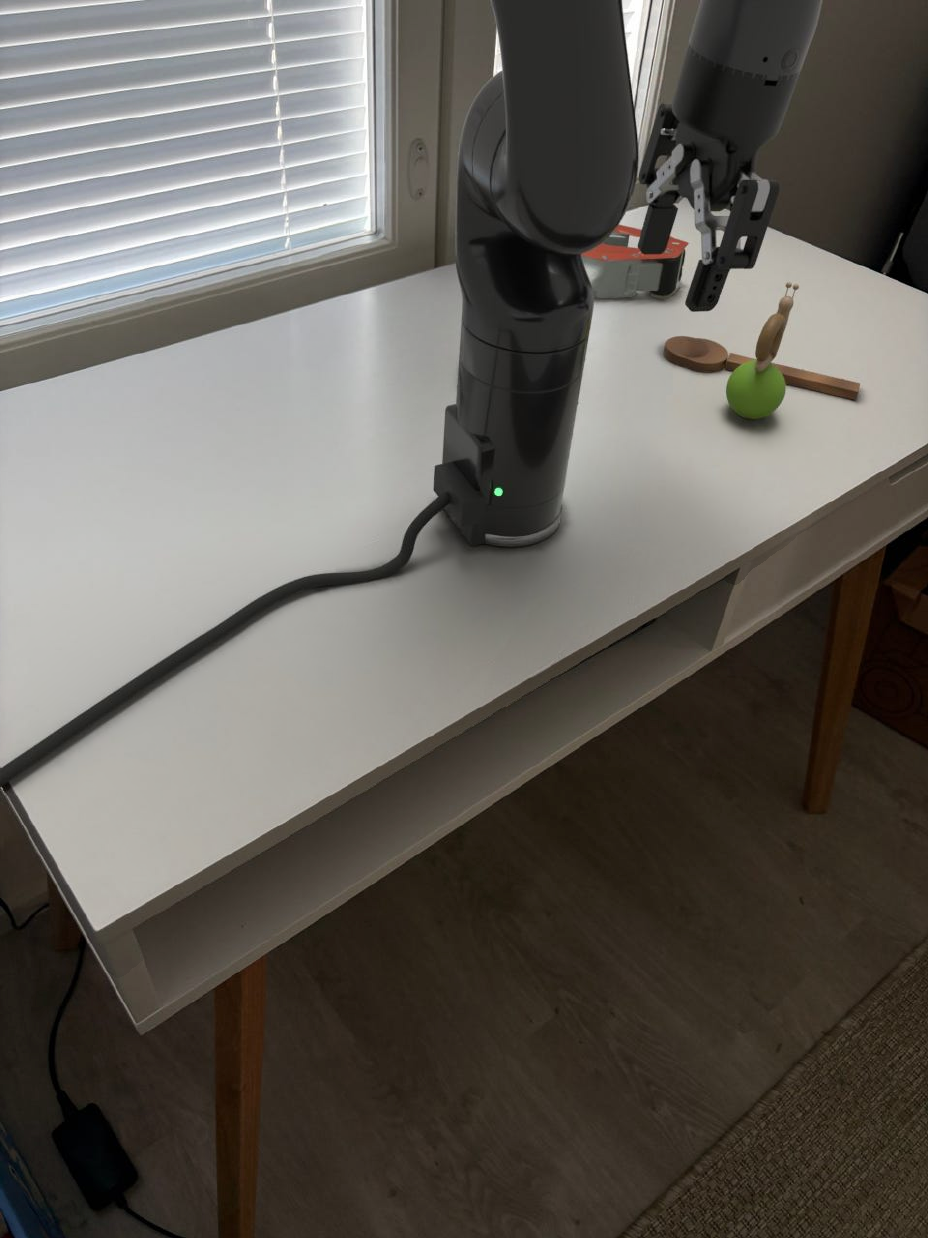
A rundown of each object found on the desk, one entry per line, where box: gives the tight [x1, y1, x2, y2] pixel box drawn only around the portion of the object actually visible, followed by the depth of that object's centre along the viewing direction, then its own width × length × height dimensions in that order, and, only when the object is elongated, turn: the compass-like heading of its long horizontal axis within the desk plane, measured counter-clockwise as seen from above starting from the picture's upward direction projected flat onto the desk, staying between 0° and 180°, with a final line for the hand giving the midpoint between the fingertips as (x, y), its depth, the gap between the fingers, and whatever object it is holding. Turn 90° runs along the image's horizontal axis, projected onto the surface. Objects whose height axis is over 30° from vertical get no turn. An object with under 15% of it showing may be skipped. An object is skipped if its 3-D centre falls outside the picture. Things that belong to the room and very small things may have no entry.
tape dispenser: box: [581, 223, 689, 299], centre depth 113 cm, size 18×5×20 cm
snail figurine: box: [725, 281, 800, 420], centre depth 94 cm, size 5×6×12 cm
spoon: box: [663, 335, 861, 401], centre depth 103 cm, size 20×5×1 cm, turn 70°
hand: (673, 279), depth 77 cm, fingers open, 8 cm apart
